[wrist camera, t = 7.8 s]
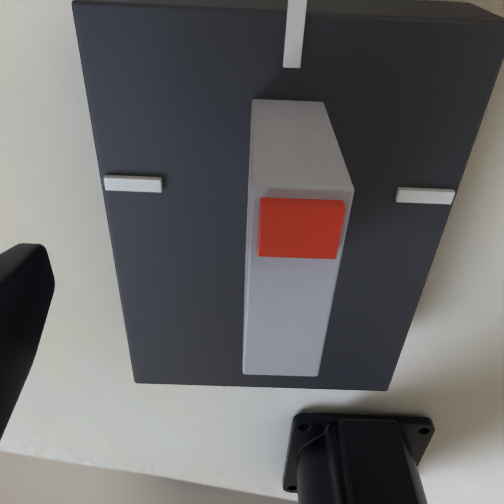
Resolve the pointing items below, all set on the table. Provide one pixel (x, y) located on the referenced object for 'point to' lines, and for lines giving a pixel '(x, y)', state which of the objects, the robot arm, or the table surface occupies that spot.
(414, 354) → the table surface
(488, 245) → the table surface
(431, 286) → the table surface
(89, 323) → the table surface
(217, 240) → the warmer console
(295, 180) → the gray box
